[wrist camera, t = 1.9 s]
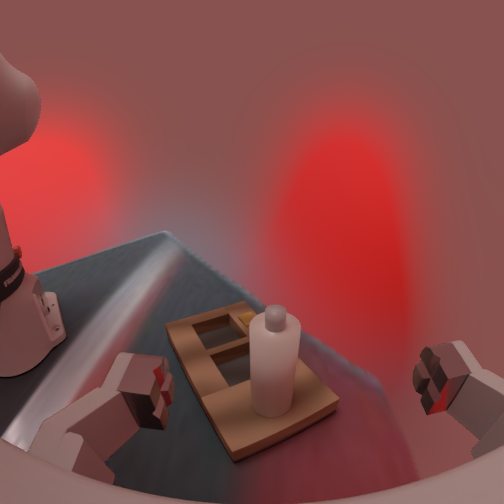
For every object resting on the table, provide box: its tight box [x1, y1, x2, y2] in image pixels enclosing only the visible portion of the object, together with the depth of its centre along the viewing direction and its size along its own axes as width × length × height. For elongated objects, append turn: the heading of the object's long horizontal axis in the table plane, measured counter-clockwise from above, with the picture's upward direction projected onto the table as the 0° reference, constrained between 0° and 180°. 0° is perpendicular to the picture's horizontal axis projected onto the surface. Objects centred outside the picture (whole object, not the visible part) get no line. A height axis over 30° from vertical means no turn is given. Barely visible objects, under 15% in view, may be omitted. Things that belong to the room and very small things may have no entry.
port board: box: [165, 301, 339, 462], centre depth 33 cm, size 21×12×3 cm, turn 28°
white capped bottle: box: [249, 304, 301, 418], centre depth 25 cm, size 4×4×12 cm
